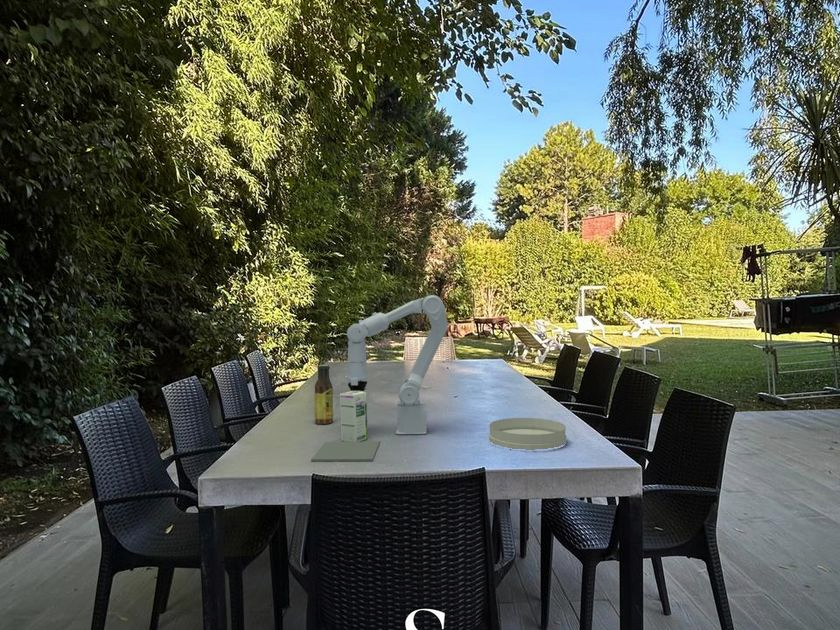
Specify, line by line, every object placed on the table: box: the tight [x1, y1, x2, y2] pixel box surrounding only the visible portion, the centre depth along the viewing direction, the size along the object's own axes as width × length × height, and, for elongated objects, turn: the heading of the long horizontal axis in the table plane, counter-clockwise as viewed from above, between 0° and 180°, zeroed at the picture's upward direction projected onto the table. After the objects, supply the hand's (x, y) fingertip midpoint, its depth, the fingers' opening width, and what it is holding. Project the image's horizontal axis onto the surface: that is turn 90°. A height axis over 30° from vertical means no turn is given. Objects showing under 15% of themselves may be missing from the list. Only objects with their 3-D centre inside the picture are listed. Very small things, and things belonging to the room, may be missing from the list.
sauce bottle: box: [314, 364, 334, 425], centre depth 188 cm, size 6×6×20 cm
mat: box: [310, 440, 381, 463], centre depth 151 cm, size 16×18×1 cm
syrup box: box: [339, 390, 369, 442], centre depth 163 cm, size 6×6×14 cm
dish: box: [488, 417, 567, 450], centre depth 159 cm, size 22×22×5 cm
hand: (358, 404), depth 172 cm, fingers closed
